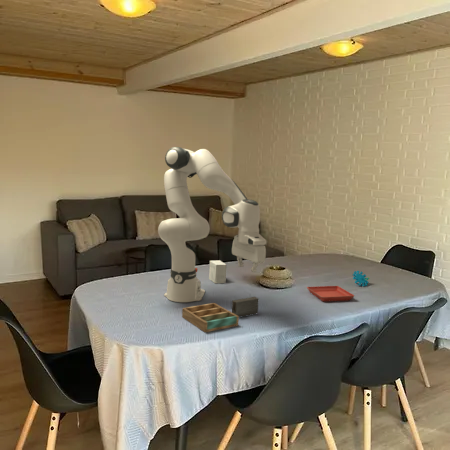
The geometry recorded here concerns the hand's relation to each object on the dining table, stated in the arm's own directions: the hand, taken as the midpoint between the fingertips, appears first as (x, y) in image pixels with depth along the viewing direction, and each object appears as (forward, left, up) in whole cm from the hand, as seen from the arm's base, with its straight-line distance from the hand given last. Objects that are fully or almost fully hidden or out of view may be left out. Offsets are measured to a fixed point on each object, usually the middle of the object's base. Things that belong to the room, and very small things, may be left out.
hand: (247, 269), depth 201 cm
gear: (-73, +48, -21) cm, 90 cm away
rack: (+14, -12, -21) cm, 27 cm away
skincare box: (-46, -28, -21) cm, 58 cm away
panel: (0, 0, -21) cm, 21 cm away
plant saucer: (-43, +33, -21) cm, 59 cm away
